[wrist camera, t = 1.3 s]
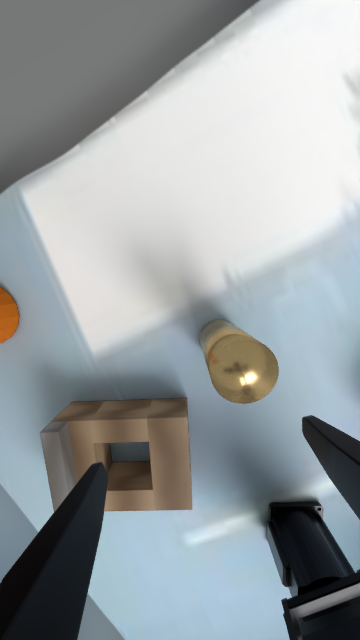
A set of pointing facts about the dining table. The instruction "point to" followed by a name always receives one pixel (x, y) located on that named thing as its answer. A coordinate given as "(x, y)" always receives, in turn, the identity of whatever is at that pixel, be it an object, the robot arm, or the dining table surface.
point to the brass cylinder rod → (237, 362)
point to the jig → (116, 427)
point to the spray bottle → (7, 315)
